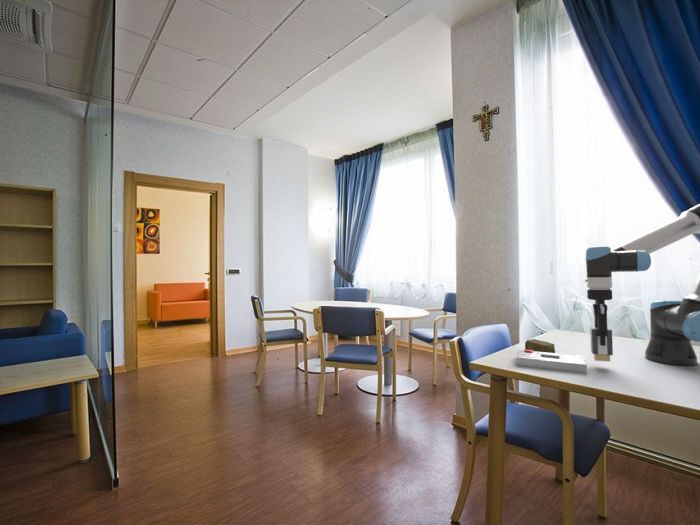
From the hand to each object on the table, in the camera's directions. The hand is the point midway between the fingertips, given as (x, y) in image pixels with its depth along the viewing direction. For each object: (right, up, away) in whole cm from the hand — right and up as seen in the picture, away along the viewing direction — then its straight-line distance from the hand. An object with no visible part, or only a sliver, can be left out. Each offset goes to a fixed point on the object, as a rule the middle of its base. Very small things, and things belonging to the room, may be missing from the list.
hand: (601, 352), depth 132 cm
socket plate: (-17, -6, +4) cm, 18 cm away
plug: (0, -3, 0) cm, 3 cm away
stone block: (-12, -6, +21) cm, 25 cm away
